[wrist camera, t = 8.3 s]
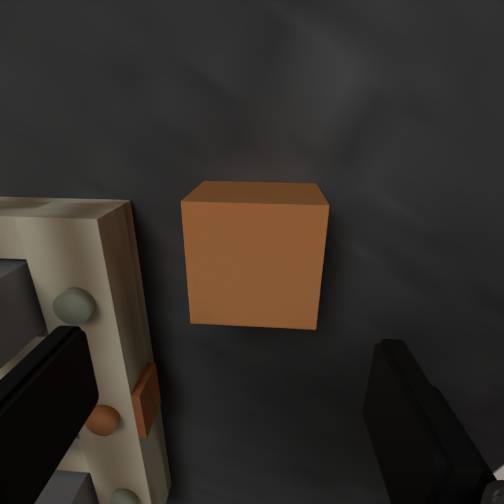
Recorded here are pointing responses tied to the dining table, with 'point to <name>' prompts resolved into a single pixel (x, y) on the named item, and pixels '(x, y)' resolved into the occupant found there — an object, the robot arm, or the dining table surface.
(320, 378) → the dining table surface
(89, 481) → the block
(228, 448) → the dining table surface
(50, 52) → the dining table surface
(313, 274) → the cap
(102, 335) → the breaker board
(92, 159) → the dining table surface
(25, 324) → the block
